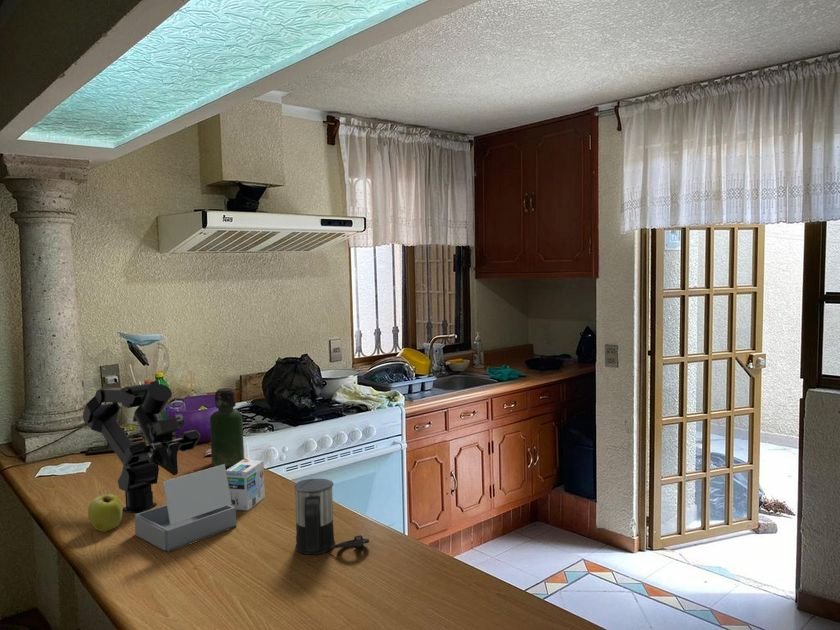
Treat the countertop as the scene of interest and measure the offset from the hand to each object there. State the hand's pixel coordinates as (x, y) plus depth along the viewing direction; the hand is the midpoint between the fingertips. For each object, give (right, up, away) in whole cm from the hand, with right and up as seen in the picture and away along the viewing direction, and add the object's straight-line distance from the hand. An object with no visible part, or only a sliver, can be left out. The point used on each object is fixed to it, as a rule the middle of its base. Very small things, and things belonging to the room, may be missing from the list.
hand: (175, 474), depth 158 cm
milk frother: (+41, -14, -13) cm, 45 cm away
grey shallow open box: (+3, -14, -2) cm, 14 cm away
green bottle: (-3, -10, +53) cm, 54 cm away
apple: (-17, -14, 0) cm, 22 cm away
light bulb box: (+13, -12, +16) cm, 24 cm away
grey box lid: (+9, -8, -7) cm, 14 cm away
